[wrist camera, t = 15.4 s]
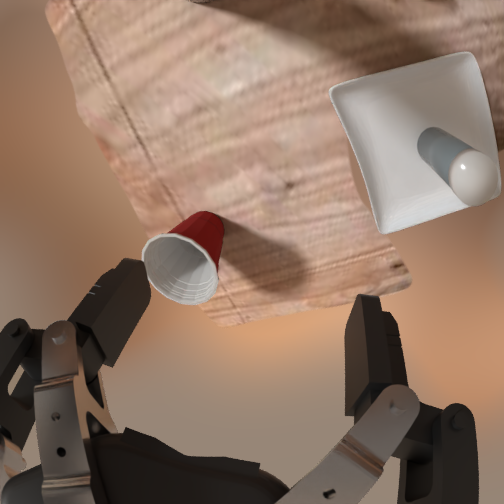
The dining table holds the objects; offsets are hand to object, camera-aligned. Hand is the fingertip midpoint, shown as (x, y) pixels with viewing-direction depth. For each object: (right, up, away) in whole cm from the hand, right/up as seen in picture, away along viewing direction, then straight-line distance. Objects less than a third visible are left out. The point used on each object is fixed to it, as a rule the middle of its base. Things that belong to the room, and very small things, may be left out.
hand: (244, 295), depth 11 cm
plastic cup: (-7, +6, +35) cm, 36 cm away
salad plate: (+23, +17, +21) cm, 36 cm away
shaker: (+23, +15, +19) cm, 33 cm away
